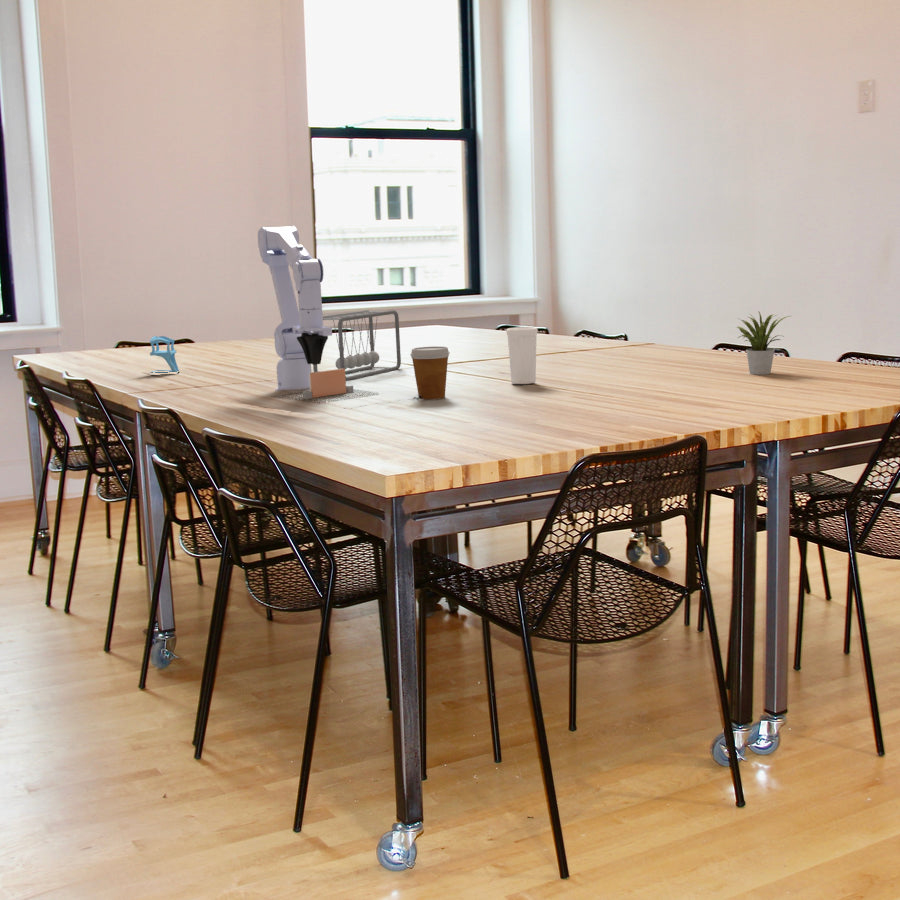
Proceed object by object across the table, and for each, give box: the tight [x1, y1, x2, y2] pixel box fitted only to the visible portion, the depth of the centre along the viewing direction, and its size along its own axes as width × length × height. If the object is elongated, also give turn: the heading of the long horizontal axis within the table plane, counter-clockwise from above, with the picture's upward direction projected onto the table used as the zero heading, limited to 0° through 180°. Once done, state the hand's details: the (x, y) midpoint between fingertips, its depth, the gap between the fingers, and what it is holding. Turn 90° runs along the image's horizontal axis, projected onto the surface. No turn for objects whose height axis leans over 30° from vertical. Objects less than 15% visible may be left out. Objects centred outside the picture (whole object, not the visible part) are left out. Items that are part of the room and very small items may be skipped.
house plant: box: [736, 311, 791, 376], centre depth 285 cm, size 14×14×16 cm
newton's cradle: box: [312, 309, 402, 382], centre depth 320 cm, size 30×10×18 cm, turn 150°
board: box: [272, 384, 378, 404], centre depth 273 cm, size 22×20×3 cm
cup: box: [506, 326, 539, 385], centre depth 284 cm, size 8×8×14 cm
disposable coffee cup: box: [409, 346, 450, 401], centre depth 266 cm, size 10×10×12 cm
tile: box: [309, 368, 347, 399], centre depth 272 cm, size 1×10×6 cm, turn 131°
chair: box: [149, 335, 180, 373], centre depth 343 cm, size 8×8×12 cm
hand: (314, 364), depth 275 cm, fingers closed
